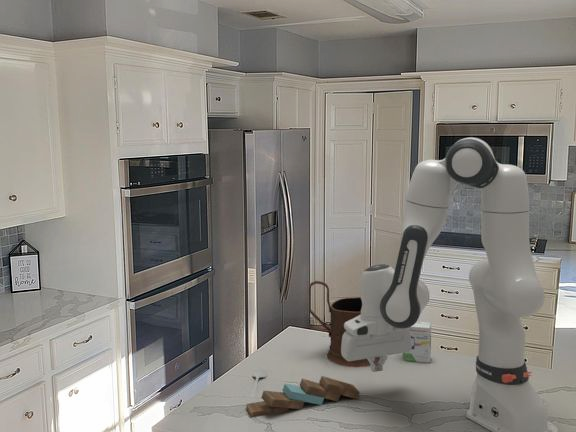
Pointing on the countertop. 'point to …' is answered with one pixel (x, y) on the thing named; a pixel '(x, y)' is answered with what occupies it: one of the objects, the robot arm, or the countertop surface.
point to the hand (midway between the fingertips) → (376, 370)
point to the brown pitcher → (340, 326)
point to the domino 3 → (301, 394)
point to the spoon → (256, 373)
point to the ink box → (420, 343)
